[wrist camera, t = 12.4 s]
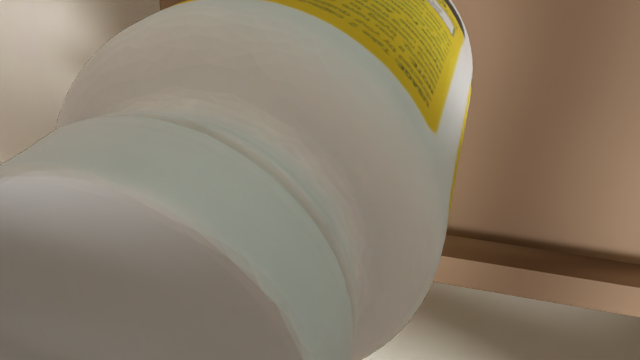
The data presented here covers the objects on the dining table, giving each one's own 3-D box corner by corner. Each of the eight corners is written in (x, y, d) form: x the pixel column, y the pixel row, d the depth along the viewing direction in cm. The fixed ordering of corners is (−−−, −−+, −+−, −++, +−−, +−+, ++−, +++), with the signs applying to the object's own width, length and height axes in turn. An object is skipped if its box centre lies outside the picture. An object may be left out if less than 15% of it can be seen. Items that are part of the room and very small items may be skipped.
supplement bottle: (220, -28, 13) (-260, 117, 5) (458, -82, 12) (342, 0, 3) (276, 181, 15) (8, 532, 7) (486, 163, 14) (460, 608, 5)
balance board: (1331, -189, 9) (1594, -214, 7) (985, 312, 14) (1076, 392, 11) (173, -177, 14) (112, -189, 11) (205, 194, 18) (166, 235, 16)
